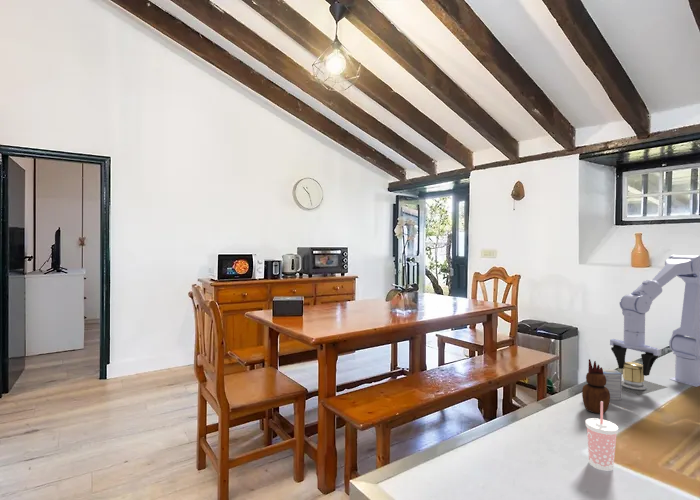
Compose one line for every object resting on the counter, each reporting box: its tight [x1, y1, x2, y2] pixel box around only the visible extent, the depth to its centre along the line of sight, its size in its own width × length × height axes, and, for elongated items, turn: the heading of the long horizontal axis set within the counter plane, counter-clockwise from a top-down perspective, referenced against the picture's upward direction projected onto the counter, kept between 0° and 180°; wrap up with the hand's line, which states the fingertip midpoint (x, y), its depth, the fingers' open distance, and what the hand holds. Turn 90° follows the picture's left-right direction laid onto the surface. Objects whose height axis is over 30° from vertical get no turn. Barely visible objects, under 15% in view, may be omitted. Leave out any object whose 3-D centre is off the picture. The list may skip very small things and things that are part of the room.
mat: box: [621, 379, 667, 396], centre depth 133 cm, size 16×10×1 cm, turn 115°
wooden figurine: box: [581, 359, 611, 414], centre depth 114 cm, size 7×6×15 cm
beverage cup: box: [584, 401, 619, 472], centre depth 87 cm, size 6×6×14 cm
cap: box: [622, 361, 645, 382], centre depth 132 cm, size 5×5×5 cm
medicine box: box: [587, 368, 623, 401], centre depth 124 cm, size 8×4×9 cm, turn 84°
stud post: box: [622, 378, 647, 391], centre depth 132 cm, size 7×7×6 cm
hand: (633, 371), depth 132 cm, fingers open, 7 cm apart
